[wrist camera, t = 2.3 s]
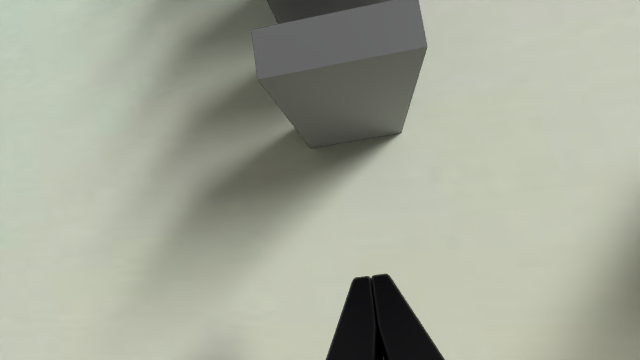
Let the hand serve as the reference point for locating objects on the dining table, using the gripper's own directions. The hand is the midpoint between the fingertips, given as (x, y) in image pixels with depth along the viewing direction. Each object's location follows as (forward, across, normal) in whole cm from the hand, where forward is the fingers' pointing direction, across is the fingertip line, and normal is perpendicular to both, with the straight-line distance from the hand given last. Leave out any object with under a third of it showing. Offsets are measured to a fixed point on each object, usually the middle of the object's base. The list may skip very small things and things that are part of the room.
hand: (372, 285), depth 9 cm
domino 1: (+13, 0, +3) cm, 13 cm away
